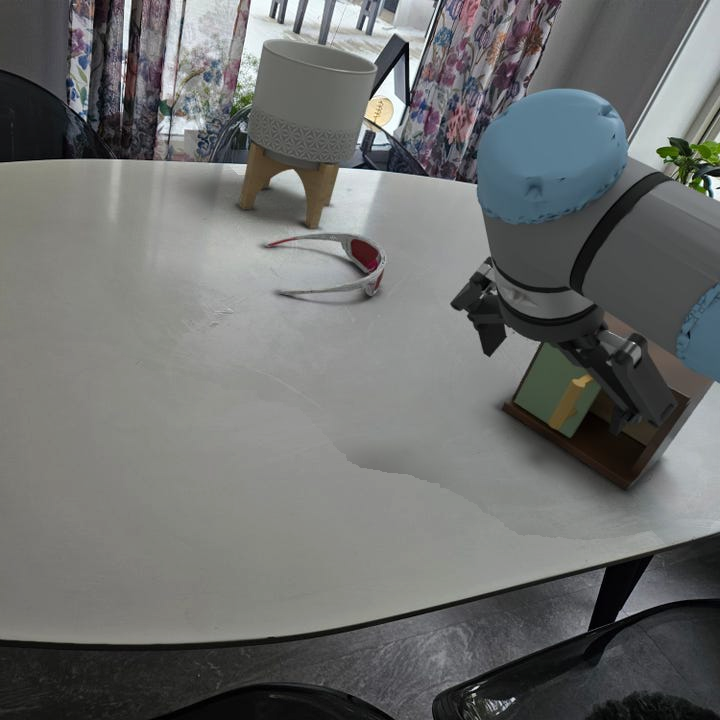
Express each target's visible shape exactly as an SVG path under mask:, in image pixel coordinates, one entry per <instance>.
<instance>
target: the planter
mask: <svg viewBox="0 0 720 720" xmlns="http://www.w3.org/2000/svg"><path fill="white" fill-rule="evenodd" d="M378 69H379V67H378V66H377V65H376V64H375V63H374V62H373V61H371V60H369V59H367V58H365V57H363V56H361V55H359V54H355V53H352V52H350V51H347V50H343V49H340V48H336V47H334V46H328V45H325V44H320V43H315V42H310V41H305V40H298V39H297V40H296V39H288V38H271V39H266V40H264V41H263V43H262V49H261V53H260V57H259V63H258V69H257V74H256V79H255V85H254V90H253V96H252V101H251V106H250V110H249V111H250V112H249V116H248V120H247V121H248V122H247V126H246V134H247V137H248V138H250V140H252V141H253V142H251V143H250V147H249V153H248V157H247V161H246V162H247V163H246V168H245V173H244V178H243V183H242V188H241V195H240V198H239V205H238V206H239V207H240V208H241V209H242V210H252V209H253V206H254V203H255V202H256V198H257V196H258V194H259V193H260V191H261V190H262V189H269V185H270V183H271V180H272V179H273V178H274V177H275V176H277V175H278V174H281V173H283V172H286V171H290V170H293V171H294V172H295V173H296V174H297V176H298V177H299V179H300V181H301V183H302V186H303V189H304V194H305V200H306V202H305V203H306V214H305V221H304V225H305V226H306V227H308V228H309V229H311V230H313V229H318V228H319V225H320V220H321V216H322V213H323V209H324V207H325V206H330V203H331V200H332V196H333V193H334V189H335V184H336V181H337V178H338V175H339V171H340V168H341V163H342V162H347V161H349V160H351V159H353V157H354V155H355V152H356V148H357V145H358V140H359V137H360V135H361V130H362V128H363V123H364V119H365V116H366V113H367V109H368V106H369V103H370V98H371V94H372V91H373V88H374V84H375V81H376V77H377V73H378Z"/></svg>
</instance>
